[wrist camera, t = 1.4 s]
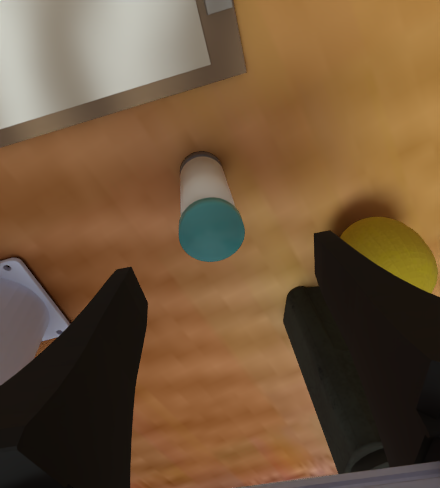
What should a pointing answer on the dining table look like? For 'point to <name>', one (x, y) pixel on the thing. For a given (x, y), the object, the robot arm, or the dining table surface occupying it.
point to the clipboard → (106, 57)
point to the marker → (207, 210)
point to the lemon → (394, 250)
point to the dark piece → (333, 383)
